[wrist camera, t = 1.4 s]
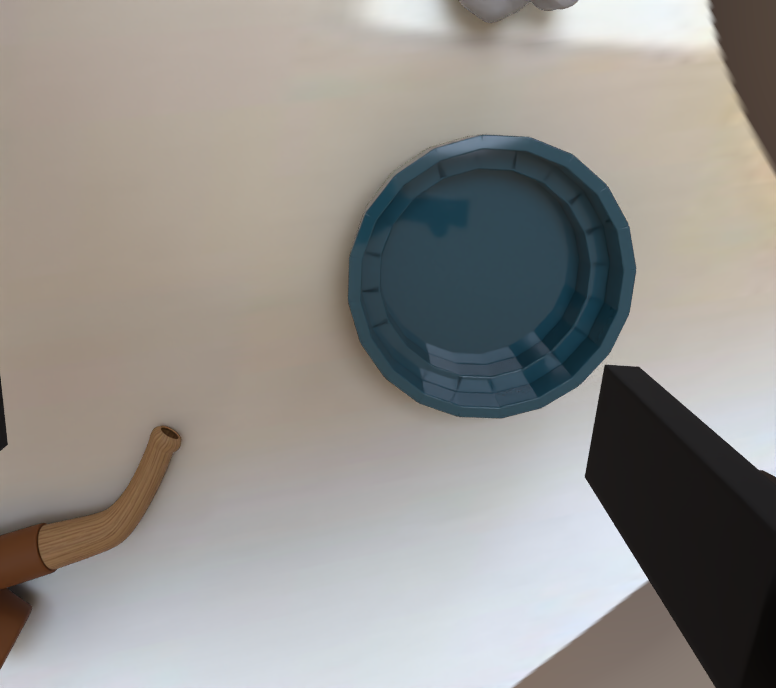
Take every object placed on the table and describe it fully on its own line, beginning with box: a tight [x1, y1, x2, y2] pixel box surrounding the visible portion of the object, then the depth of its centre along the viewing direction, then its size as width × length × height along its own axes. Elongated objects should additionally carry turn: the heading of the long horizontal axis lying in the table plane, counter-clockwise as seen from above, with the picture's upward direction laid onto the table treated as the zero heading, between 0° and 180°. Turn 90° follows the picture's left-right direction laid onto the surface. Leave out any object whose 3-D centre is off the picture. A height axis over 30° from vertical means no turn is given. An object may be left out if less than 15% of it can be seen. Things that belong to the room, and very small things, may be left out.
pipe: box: [0, 426, 181, 669], centre depth 36 cm, size 7×19×6 cm, turn 136°
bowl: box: [348, 135, 636, 418], centre depth 33 cm, size 13×13×4 cm
